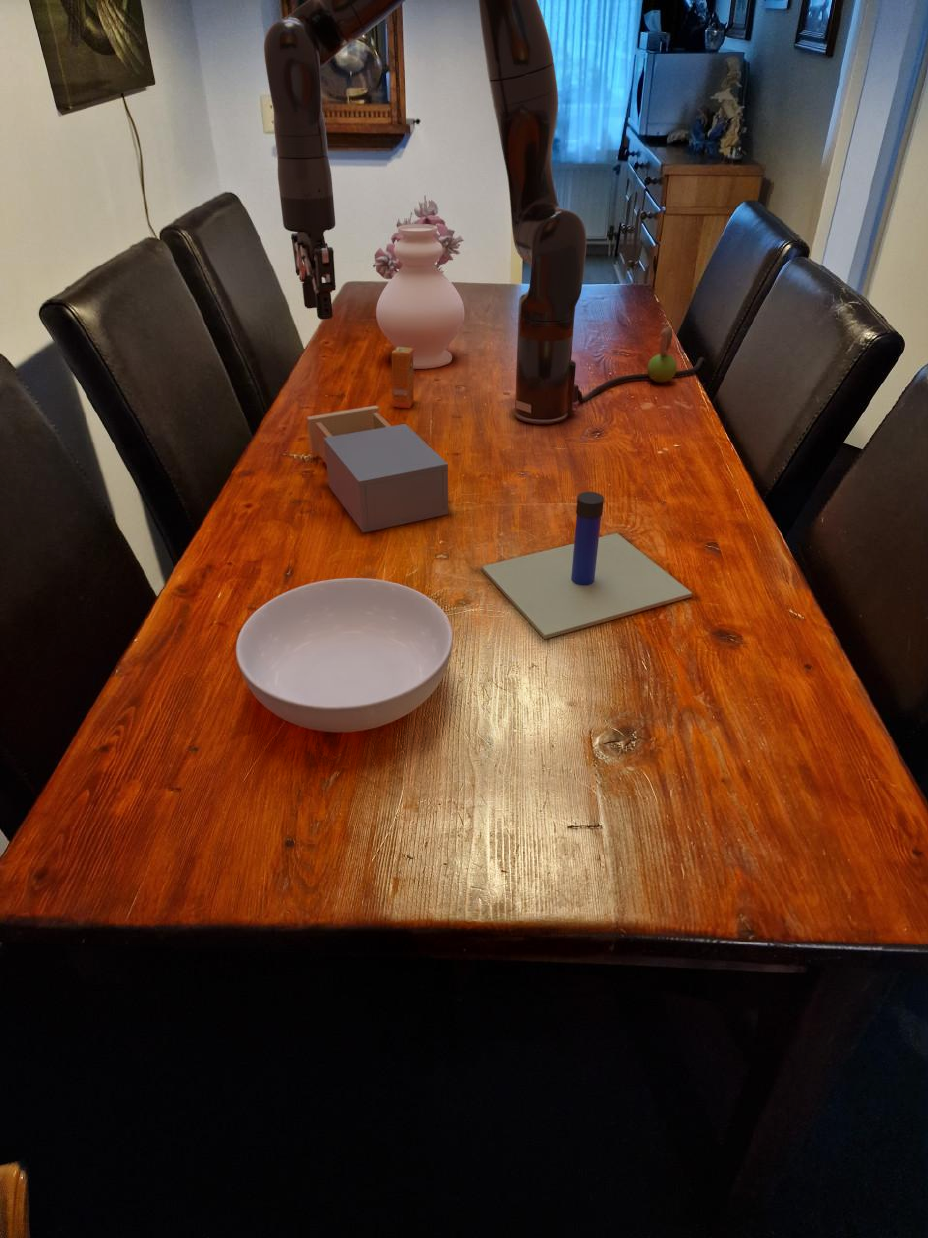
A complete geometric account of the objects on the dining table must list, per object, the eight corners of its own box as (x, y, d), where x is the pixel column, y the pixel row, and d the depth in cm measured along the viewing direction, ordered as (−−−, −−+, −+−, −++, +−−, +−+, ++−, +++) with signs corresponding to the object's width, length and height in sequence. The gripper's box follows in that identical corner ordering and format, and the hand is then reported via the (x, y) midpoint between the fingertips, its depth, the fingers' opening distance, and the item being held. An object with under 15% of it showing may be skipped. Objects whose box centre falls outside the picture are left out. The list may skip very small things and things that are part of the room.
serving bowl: (272, 790, 72) (261, 732, 68) (229, 656, 88) (217, 603, 84) (487, 725, 79) (488, 669, 75) (411, 611, 94) (408, 560, 90)
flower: (343, 302, 201) (355, 207, 180) (413, 277, 212) (431, 185, 191) (394, 353, 195) (412, 262, 175) (463, 325, 206) (487, 236, 186)
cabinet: (328, 486, 121) (323, 437, 117) (407, 470, 125) (405, 423, 121) (363, 533, 109) (358, 481, 105) (448, 514, 114) (448, 463, 109)
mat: (616, 536, 109) (617, 532, 108) (691, 597, 97) (692, 592, 96) (481, 570, 102) (481, 565, 101) (544, 639, 90) (544, 635, 89)
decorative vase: (481, 362, 168) (482, 229, 153) (407, 378, 159) (401, 240, 145) (434, 341, 180) (431, 216, 165) (363, 355, 171) (354, 225, 157)
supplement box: (410, 408, 146) (408, 352, 141) (392, 407, 147) (389, 351, 141) (415, 402, 149) (413, 347, 143) (397, 401, 150) (394, 345, 144)
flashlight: (586, 570, 100) (594, 489, 94) (599, 582, 98) (609, 500, 92) (565, 576, 99) (572, 494, 93) (578, 588, 97) (586, 505, 91)
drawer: (303, 442, 132) (299, 407, 129) (369, 430, 136) (367, 396, 133) (338, 488, 118) (334, 451, 115) (411, 474, 122) (410, 437, 119)
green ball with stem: (642, 386, 156) (650, 321, 149) (648, 375, 161) (657, 312, 154) (670, 389, 154) (680, 324, 147) (676, 379, 159) (686, 315, 152)
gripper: (347, 197, 112) (356, 321, 122) (317, 184, 123) (328, 299, 133) (294, 201, 110) (307, 327, 119) (268, 187, 120) (282, 304, 130)
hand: (318, 312), depth 126 cm, fingers open, 6 cm apart
